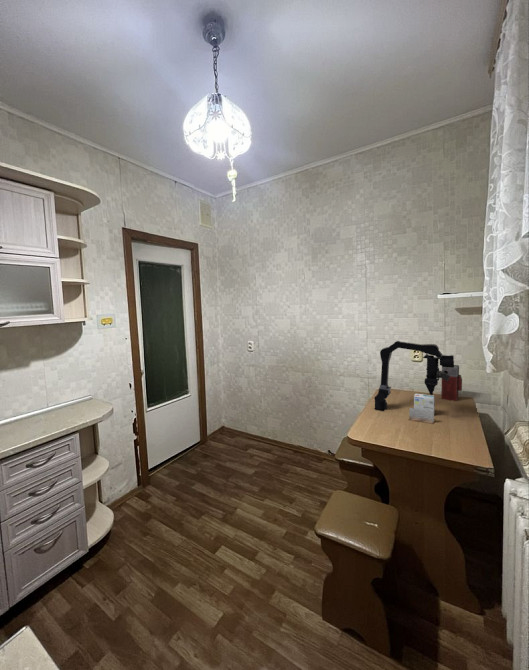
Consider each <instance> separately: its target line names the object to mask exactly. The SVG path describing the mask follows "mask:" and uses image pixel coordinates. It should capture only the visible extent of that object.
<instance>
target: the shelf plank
mask: <svg viewBox="0 0 529 670" xmlns="http://www.w3.org/2000/svg"><path fill="white" fill-rule="evenodd" d="M408 421H412V422H419V423H424V424H429V425H430V424H431V425H434V423H435V421H434V422H433V421H427V420H421V419H415V418H408Z"/></svg>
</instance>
